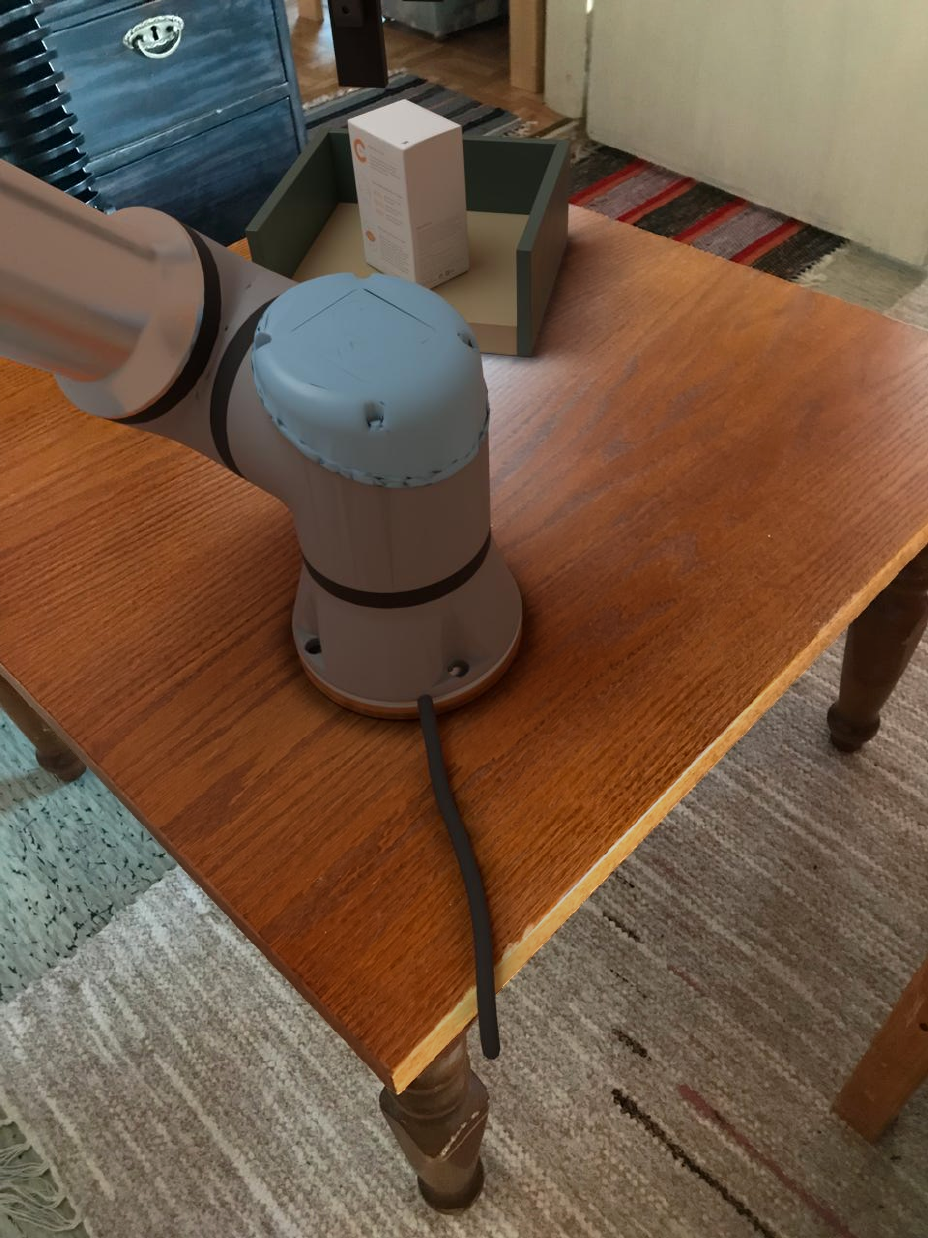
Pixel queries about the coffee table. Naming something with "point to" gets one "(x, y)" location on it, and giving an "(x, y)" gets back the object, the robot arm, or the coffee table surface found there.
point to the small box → (411, 192)
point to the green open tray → (496, 223)
